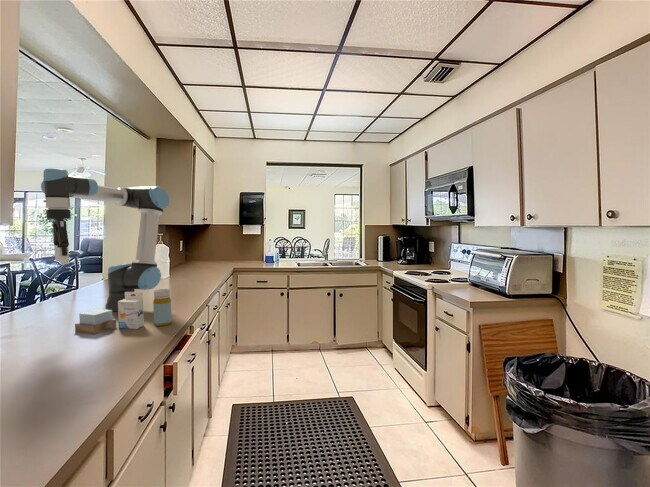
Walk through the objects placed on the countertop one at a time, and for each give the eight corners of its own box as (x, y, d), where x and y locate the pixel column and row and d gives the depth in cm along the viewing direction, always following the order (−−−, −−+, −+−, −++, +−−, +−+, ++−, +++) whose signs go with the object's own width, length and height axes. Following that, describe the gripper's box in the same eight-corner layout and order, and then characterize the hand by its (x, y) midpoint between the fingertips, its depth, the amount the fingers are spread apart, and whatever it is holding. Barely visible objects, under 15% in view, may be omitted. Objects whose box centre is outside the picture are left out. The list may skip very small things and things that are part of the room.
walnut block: (97, 326, 147) (97, 317, 147) (116, 328, 144) (115, 319, 144) (75, 333, 138) (74, 323, 137) (94, 335, 135) (94, 325, 135)
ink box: (117, 328, 143) (116, 294, 142) (125, 325, 148) (124, 291, 147) (137, 329, 142) (136, 294, 141) (144, 325, 147) (143, 291, 146)
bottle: (151, 324, 149) (150, 290, 148) (167, 320, 154) (166, 288, 153) (157, 327, 144) (156, 292, 143) (174, 323, 149) (173, 290, 148)
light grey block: (97, 318, 146) (97, 308, 146) (112, 319, 144) (112, 310, 143) (79, 323, 138) (79, 313, 138) (95, 324, 136) (94, 315, 136)
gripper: (42, 209, 139) (46, 260, 141) (50, 208, 121) (54, 266, 123) (65, 209, 144) (68, 259, 146) (75, 208, 127) (79, 264, 128)
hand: (62, 262), depth 135 cm, fingers open, 13 cm apart
